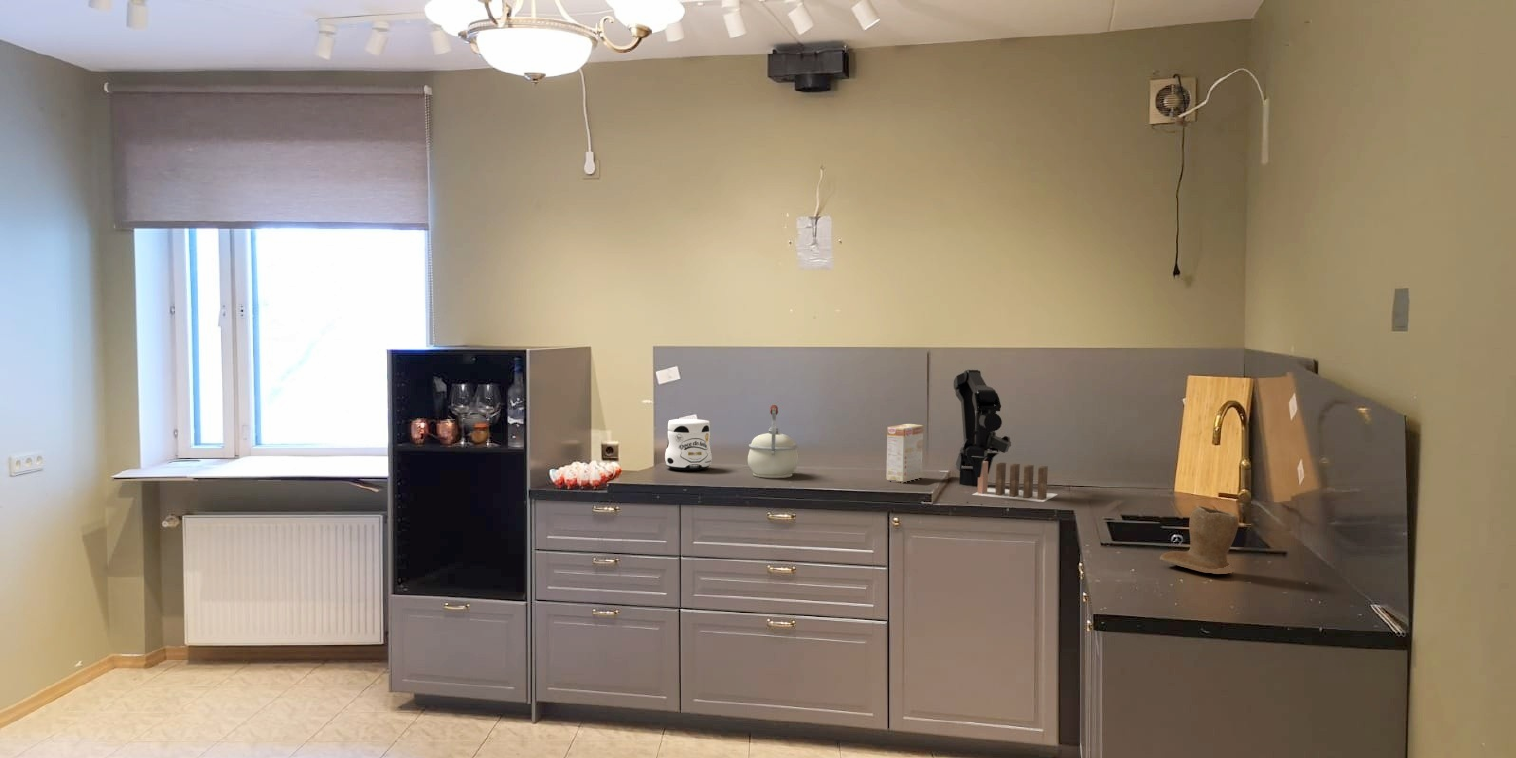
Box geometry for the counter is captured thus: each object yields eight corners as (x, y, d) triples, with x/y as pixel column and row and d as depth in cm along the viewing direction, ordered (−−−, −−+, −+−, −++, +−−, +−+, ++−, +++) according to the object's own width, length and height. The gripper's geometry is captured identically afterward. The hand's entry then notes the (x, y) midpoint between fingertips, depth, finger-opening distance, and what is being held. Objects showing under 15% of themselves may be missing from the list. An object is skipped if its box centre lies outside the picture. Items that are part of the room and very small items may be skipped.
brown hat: (1248, 575, 244) (1251, 510, 243) (1214, 581, 238) (1217, 514, 237) (1191, 561, 257) (1193, 500, 256) (1158, 566, 251) (1160, 503, 250)
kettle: (798, 480, 374) (800, 409, 372) (746, 479, 374) (747, 408, 372) (797, 470, 399) (798, 403, 397) (748, 469, 399) (749, 402, 397)
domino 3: (1009, 496, 340) (1010, 465, 340) (1013, 494, 345) (1014, 463, 344) (1014, 497, 340) (1015, 465, 339) (1018, 494, 344) (1019, 464, 343)
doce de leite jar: (693, 474, 384) (693, 424, 383) (655, 469, 393) (655, 421, 392) (720, 468, 399) (721, 420, 398) (683, 464, 408) (684, 417, 407)
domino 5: (1037, 499, 336) (1038, 467, 335) (1041, 497, 340) (1042, 466, 340) (1042, 499, 335) (1043, 468, 335) (1046, 497, 340) (1047, 466, 339)
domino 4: (1023, 497, 338) (1024, 466, 338) (1027, 495, 343) (1028, 464, 342) (1028, 498, 337) (1029, 467, 337) (1032, 496, 342) (1033, 465, 341)
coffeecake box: (905, 476, 387) (906, 423, 386) (922, 479, 383) (924, 424, 382) (885, 481, 375) (886, 426, 374) (903, 483, 371) (904, 427, 370)
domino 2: (995, 495, 343) (996, 464, 342) (1000, 493, 347) (1001, 462, 346) (1000, 495, 342) (1001, 464, 341) (1004, 493, 346) (1006, 462, 346)
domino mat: (971, 498, 343) (971, 494, 343) (989, 490, 359) (989, 487, 359) (1043, 505, 332) (1043, 501, 332) (1057, 497, 347) (1058, 494, 347)
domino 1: (977, 493, 346) (978, 462, 345) (982, 491, 350) (983, 460, 349) (982, 493, 345) (983, 463, 344) (987, 491, 349) (988, 461, 349)
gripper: (999, 432, 334) (998, 481, 335) (1017, 427, 350) (1015, 474, 351) (965, 429, 340) (964, 478, 341) (984, 425, 356) (982, 471, 357)
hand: (982, 475), depth 347 cm, fingers open, 8 cm apart
